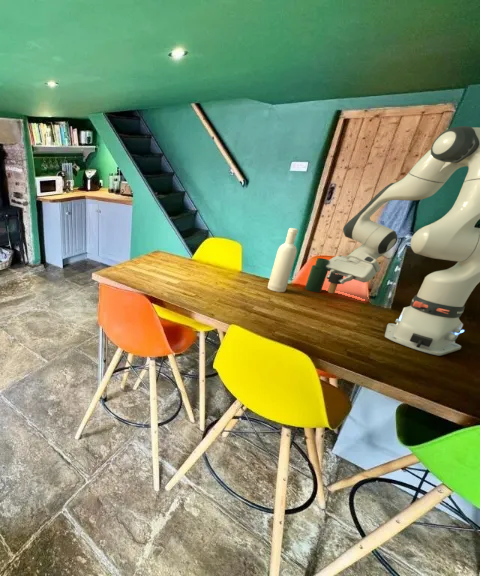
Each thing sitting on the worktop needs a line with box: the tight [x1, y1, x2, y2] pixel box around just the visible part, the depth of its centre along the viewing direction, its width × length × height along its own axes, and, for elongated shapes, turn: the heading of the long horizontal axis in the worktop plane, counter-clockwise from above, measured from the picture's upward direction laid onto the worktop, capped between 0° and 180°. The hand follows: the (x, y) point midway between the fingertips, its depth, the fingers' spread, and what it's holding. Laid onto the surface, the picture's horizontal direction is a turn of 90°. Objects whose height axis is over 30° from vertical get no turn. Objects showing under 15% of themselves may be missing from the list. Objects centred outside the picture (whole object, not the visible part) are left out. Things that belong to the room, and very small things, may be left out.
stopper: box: [327, 274, 345, 294], centre depth 139 cm, size 5×5×8 cm
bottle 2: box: [304, 257, 330, 293], centre depth 148 cm, size 7×7×16 cm
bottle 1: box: [267, 227, 299, 293], centre depth 143 cm, size 8×8×30 cm
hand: (334, 280), depth 138 cm, fingers closed on stopper, 5 cm apart
